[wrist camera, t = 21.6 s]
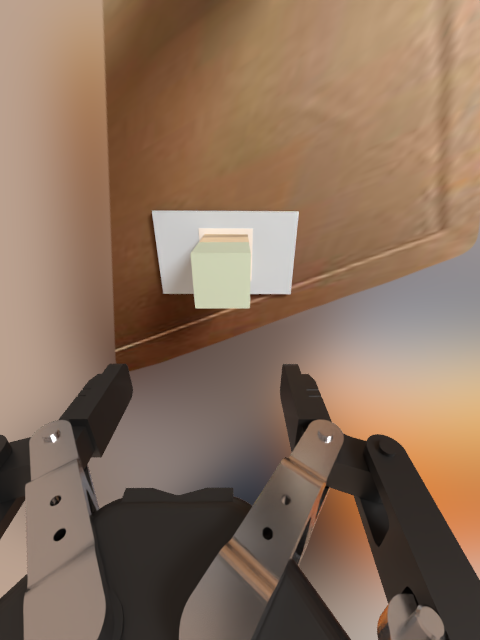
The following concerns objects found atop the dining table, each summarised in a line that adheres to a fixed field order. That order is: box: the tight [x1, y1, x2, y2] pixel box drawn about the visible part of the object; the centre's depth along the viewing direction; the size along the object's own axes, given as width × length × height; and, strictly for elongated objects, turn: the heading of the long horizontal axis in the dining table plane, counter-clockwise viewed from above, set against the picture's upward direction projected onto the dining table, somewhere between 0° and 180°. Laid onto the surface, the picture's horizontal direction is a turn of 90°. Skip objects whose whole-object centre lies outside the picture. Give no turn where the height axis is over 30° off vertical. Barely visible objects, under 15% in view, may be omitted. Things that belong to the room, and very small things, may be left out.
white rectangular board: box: [152, 210, 299, 294], centre depth 38 cm, size 12×20×1 cm, turn 90°
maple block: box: [199, 234, 249, 242], centre depth 35 cm, size 6×6×6 cm
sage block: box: [190, 242, 251, 308], centre depth 30 cm, size 6×6×6 cm
